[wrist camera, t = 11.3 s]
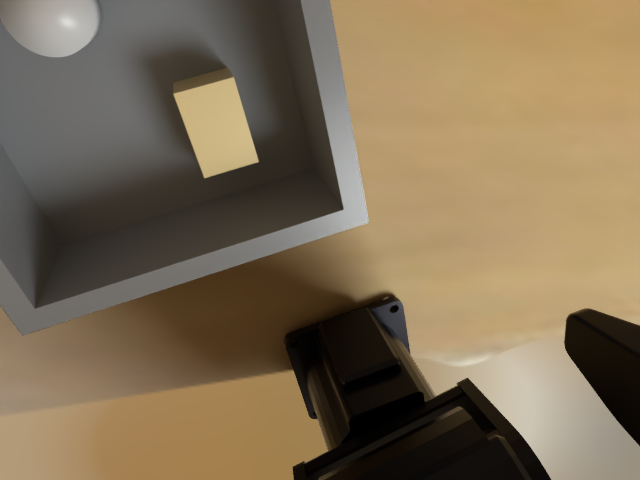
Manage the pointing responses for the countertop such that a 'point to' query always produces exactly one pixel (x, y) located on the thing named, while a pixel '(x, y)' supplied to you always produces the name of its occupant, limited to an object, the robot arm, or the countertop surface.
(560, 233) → the countertop surface
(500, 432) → the robot arm
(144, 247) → the tub
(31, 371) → the countertop surface
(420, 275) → the countertop surface
